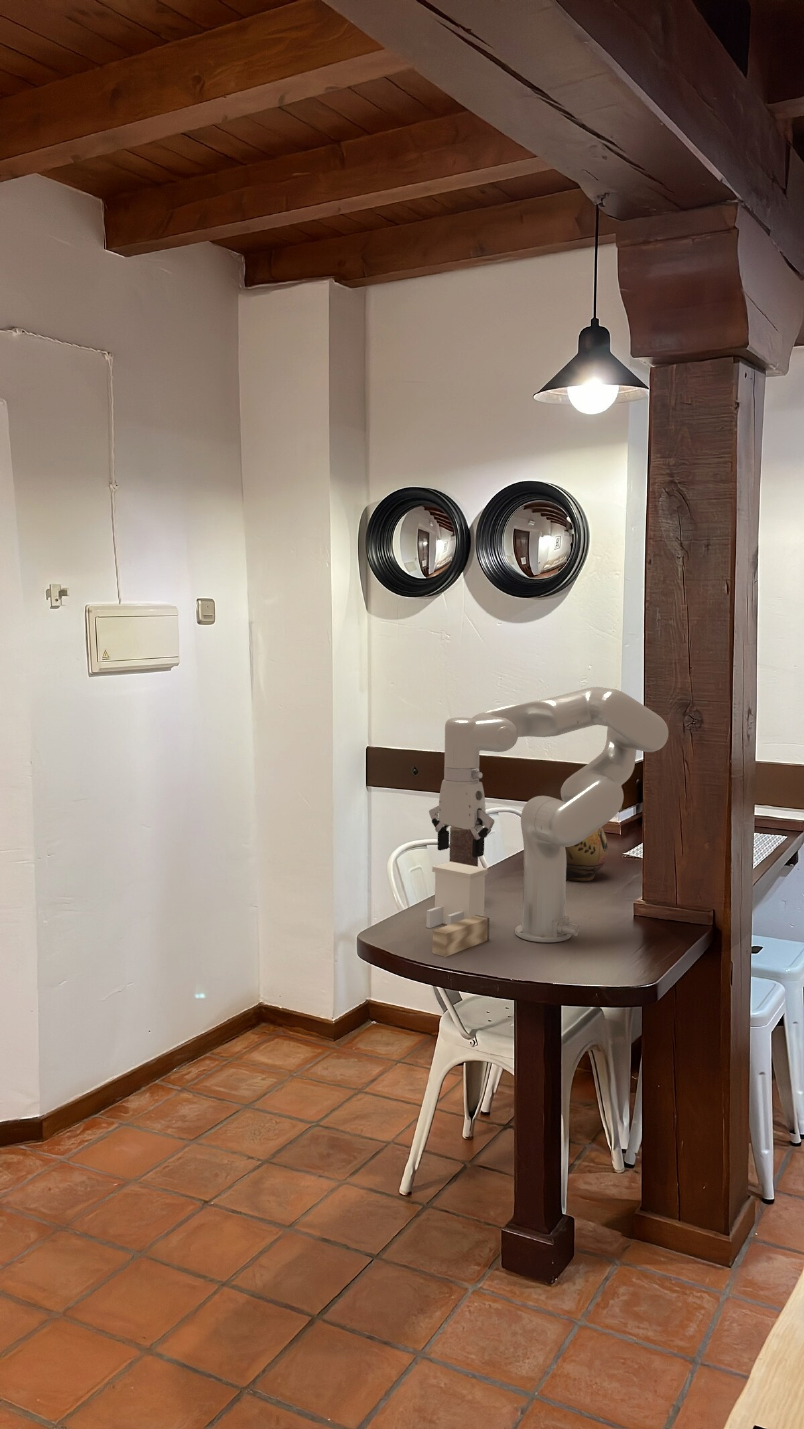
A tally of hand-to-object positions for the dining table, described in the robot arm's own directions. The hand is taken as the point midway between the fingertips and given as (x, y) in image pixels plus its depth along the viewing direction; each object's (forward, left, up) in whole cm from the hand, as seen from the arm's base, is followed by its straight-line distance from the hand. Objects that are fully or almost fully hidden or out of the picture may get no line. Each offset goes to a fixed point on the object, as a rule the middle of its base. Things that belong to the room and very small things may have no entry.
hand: (460, 852), depth 234 cm
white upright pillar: (+10, -11, -20) cm, 25 cm away
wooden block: (-1, 0, -21) cm, 21 cm away
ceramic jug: (+12, -72, -21) cm, 75 cm away
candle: (+20, -29, -21) cm, 41 cm away
